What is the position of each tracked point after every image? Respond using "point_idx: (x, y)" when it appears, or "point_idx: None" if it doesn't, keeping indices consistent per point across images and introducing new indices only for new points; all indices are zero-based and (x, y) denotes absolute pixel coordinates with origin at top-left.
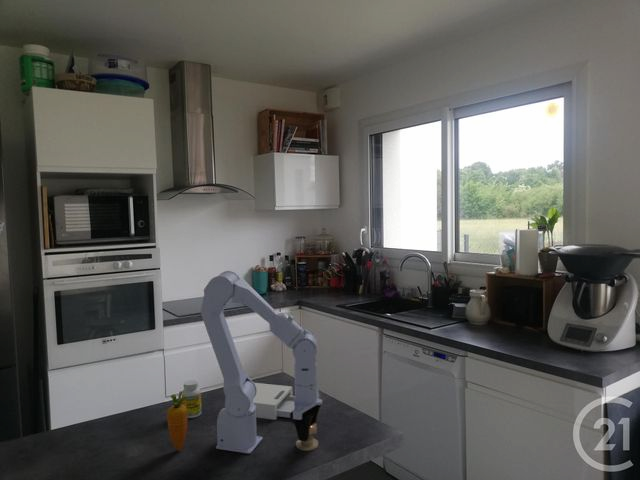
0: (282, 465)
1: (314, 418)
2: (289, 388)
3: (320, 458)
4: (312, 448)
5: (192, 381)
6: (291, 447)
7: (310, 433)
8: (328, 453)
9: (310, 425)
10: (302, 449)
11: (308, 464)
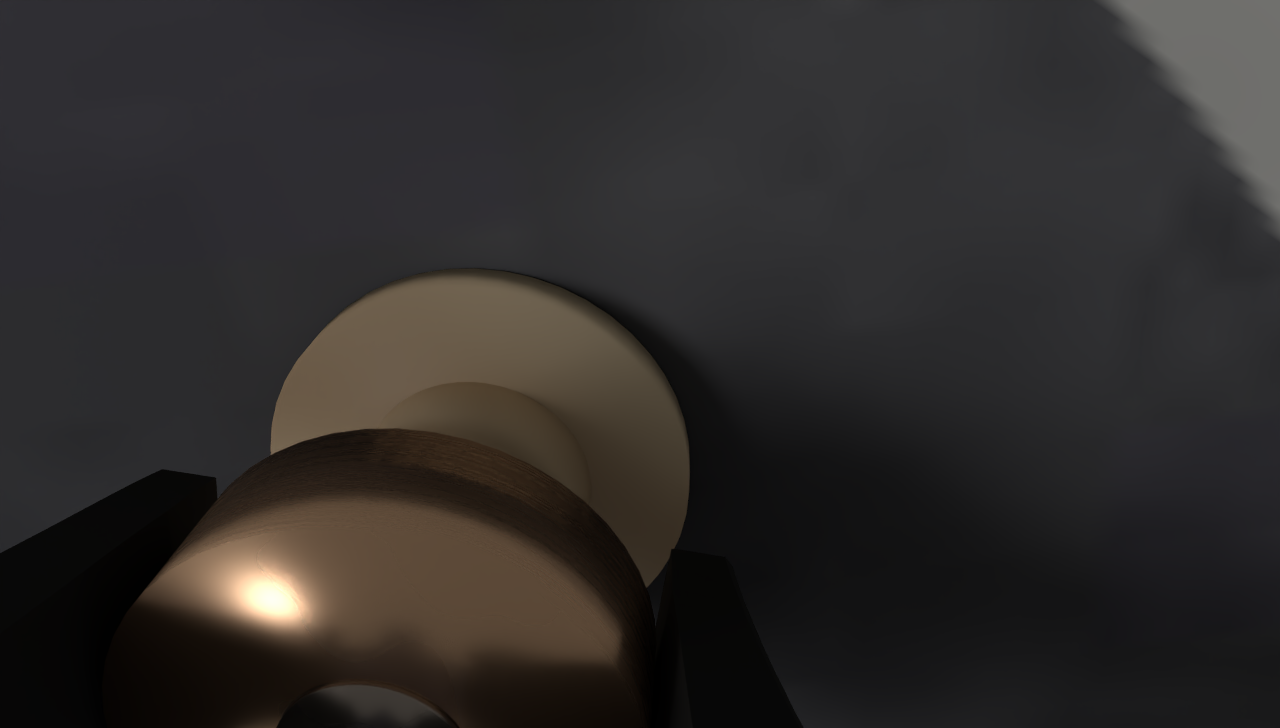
0: (1141, 707)
1: (8, 676)
2: None
3: (947, 160)
4: (645, 362)
5: None
6: None
7: (609, 585)
8: (739, 12)
9: (343, 678)
10: (680, 516)
11: (1156, 353)
